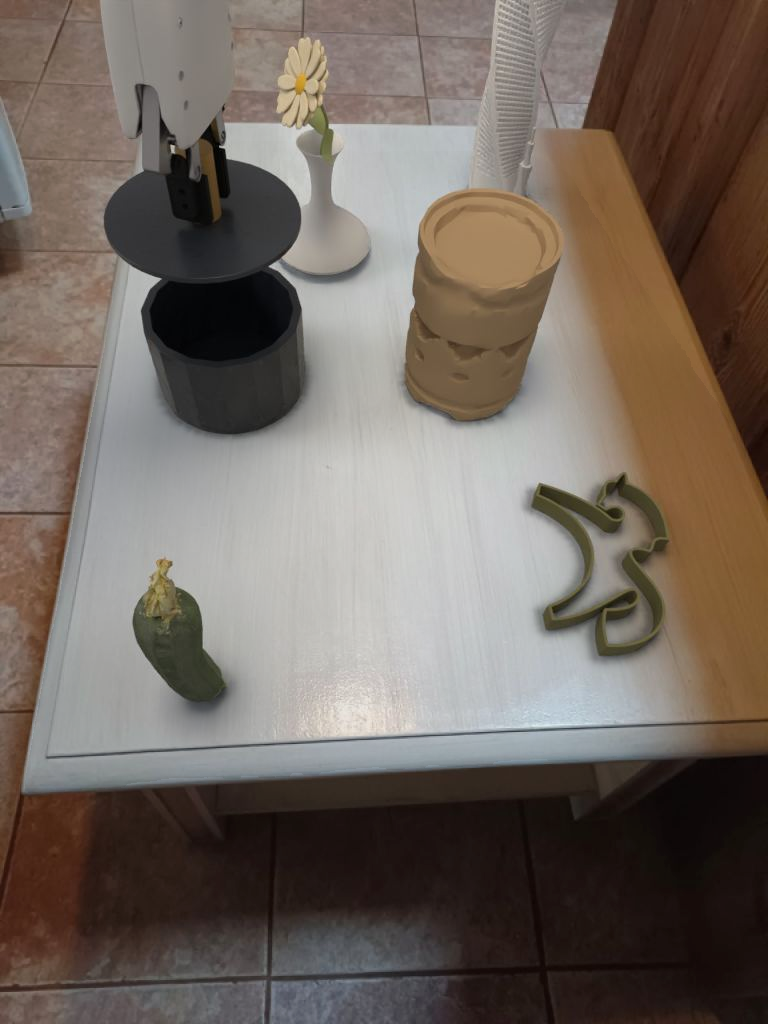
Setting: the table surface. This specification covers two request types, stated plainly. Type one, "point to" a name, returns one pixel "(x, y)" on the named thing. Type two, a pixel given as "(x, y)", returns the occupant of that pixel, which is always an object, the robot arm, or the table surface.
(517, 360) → the container
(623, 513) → the cookie cutter
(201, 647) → the vegetable
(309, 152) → the flower in vase
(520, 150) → the skyscraper
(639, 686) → the table surface
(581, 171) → the table surface
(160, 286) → the pot
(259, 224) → the lid
